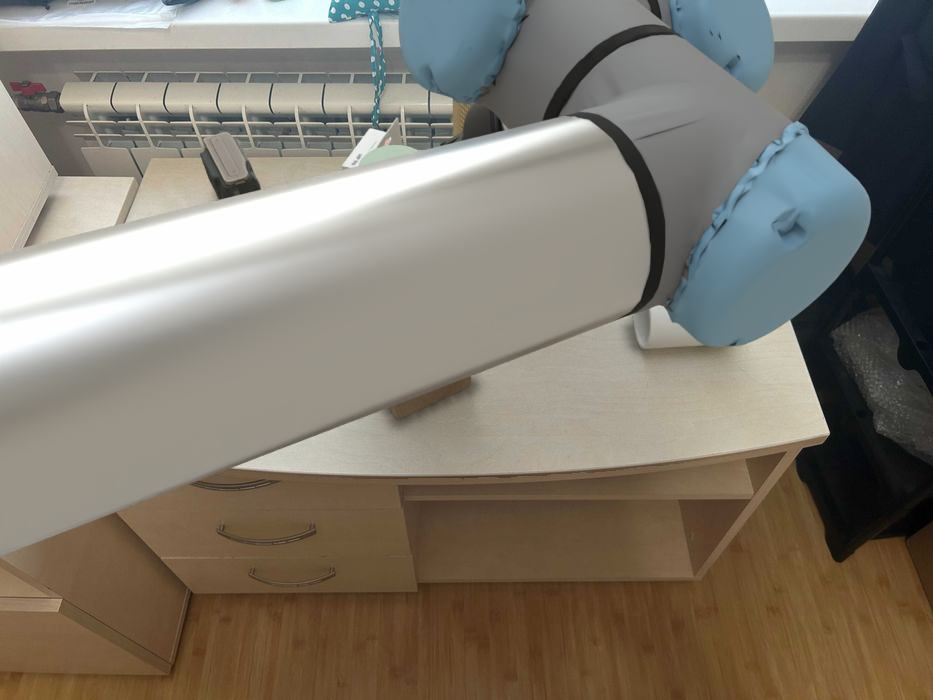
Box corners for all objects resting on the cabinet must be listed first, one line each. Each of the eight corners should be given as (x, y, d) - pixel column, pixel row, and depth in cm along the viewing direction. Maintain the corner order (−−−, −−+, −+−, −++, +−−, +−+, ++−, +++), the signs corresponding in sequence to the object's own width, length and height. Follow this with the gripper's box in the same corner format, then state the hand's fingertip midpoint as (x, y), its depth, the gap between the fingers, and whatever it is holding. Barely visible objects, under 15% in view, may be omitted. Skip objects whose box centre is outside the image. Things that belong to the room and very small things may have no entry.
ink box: (377, 192, 102) (366, 106, 90) (408, 201, 101) (401, 115, 89) (352, 231, 97) (336, 146, 85) (384, 240, 96) (373, 155, 84)
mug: (760, 286, 78) (655, 291, 78) (745, 354, 83) (647, 360, 82) (720, 246, 88) (628, 250, 88) (709, 309, 93) (622, 313, 92)
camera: (275, 229, 97) (257, 173, 89) (235, 242, 96) (214, 187, 88) (251, 181, 103) (233, 124, 95) (213, 193, 102) (191, 136, 93)
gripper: (501, 259, 43) (333, 315, 61) (622, 103, 53) (446, 191, 71) (427, 163, 41) (274, 251, 59) (569, 17, 50) (400, 131, 68)
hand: (368, 218), depth 65 cm, fingers closed on sage canister, 6 cm apart
